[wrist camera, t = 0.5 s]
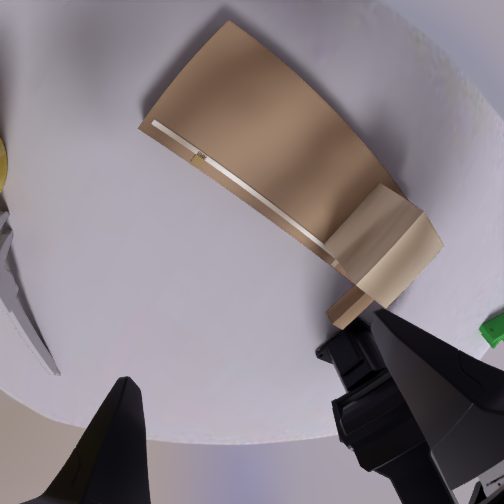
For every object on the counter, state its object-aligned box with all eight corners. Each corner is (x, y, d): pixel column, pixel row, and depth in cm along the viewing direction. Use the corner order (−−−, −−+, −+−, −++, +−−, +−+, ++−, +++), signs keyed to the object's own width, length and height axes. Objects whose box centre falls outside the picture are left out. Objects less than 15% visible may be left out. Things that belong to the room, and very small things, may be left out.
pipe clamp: (472, 338, 42) (484, 354, 38) (480, 324, 40) (493, 340, 36) (500, 323, 43) (512, 336, 39) (507, 309, 41) (520, 323, 37)
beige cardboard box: (404, 214, 21) (444, 245, 16) (328, 294, 23) (354, 337, 19) (379, 182, 19) (423, 211, 15) (296, 273, 21) (320, 318, 17)
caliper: (1, 207, 16) (-42, 247, 11) (10, 207, 16) (-33, 248, 11) (54, 371, 26) (43, 415, 21) (61, 373, 26) (51, 417, 21)
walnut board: (405, 206, 23) (419, 216, 21) (345, 271, 25) (355, 285, 23) (225, 27, 14) (228, 19, 12) (143, 124, 16) (137, 128, 14)
